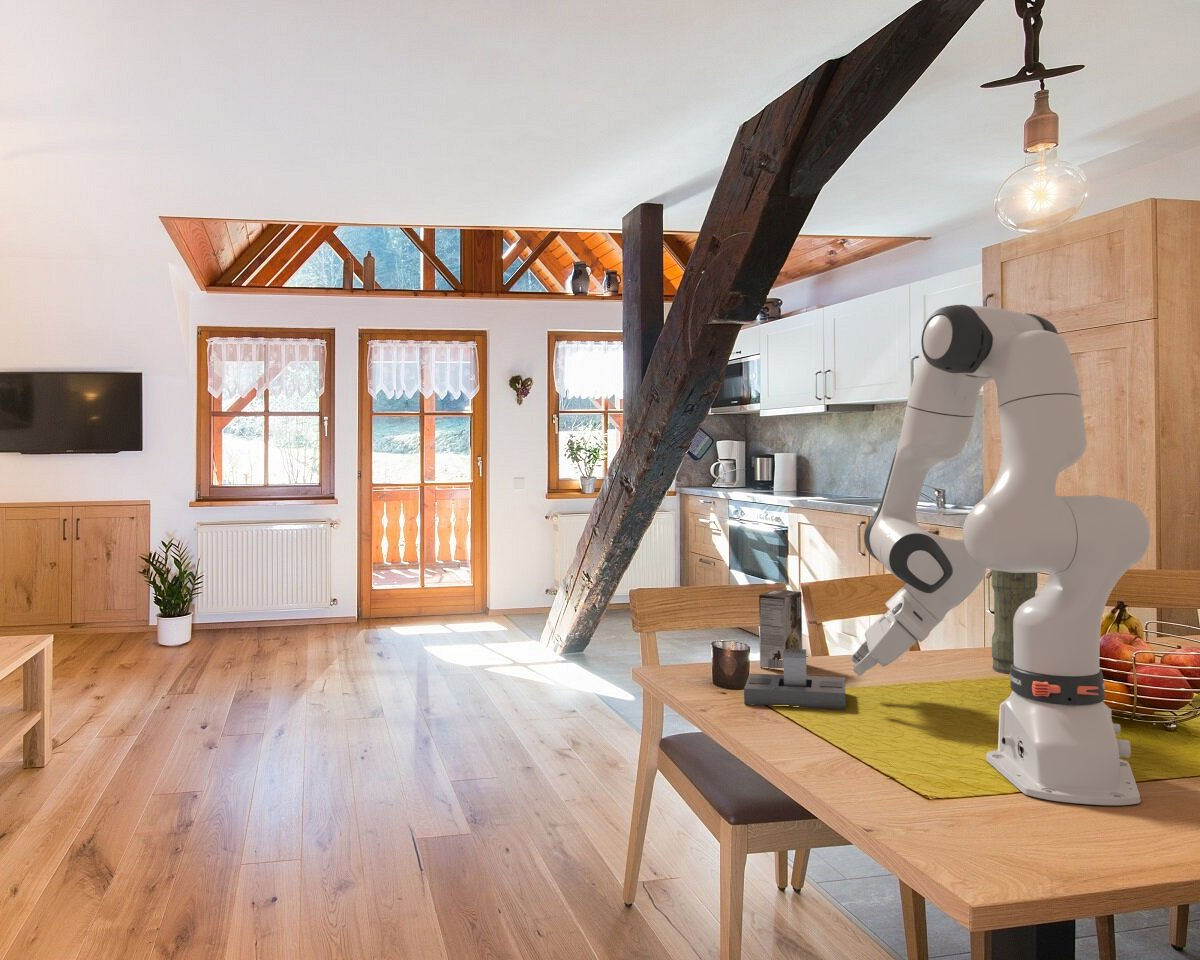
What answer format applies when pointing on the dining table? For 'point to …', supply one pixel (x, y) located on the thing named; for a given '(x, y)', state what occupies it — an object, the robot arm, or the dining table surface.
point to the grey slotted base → (796, 692)
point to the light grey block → (795, 667)
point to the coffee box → (779, 625)
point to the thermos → (1008, 613)
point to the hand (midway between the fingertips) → (854, 666)
